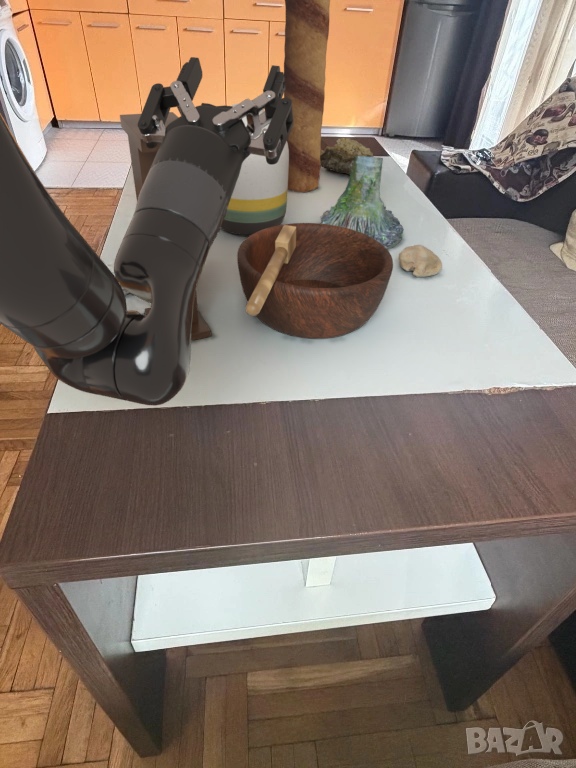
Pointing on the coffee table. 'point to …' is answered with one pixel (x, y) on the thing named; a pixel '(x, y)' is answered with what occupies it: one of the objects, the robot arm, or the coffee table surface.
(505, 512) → the coffee table surface
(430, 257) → the stone
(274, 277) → the wooden mallet
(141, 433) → the coffee table surface
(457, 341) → the coffee table surface
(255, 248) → the wooden bowl
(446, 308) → the coffee table surface
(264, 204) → the vase
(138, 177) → the stand
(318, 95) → the wafer roll
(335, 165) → the mineral specimen
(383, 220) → the tree stump
